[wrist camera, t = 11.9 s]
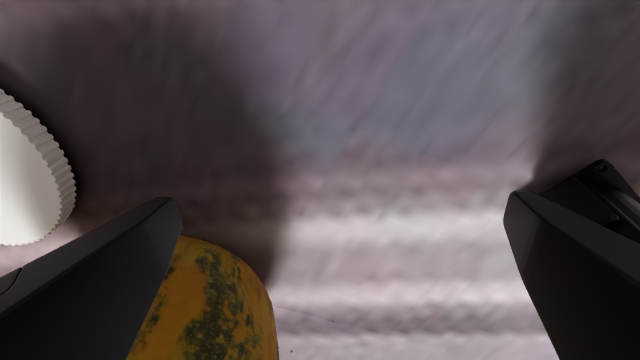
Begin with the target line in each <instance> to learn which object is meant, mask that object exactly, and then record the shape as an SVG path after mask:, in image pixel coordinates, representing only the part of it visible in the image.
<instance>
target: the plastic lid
mask: <svg viewBox="0 0 640 360" xmlns="http://www.w3.org/2000/svg"><path fill="white" fill-rule="evenodd" d="M53 138H54V137H53V136H52V134H49V133H48V132H47V128H46V127H45V126H42V125H41V124H40V121H39V120H38V119H37V118H34V117H33V116H32V113H31V112H30V111H29V110H25V109H24V108H23V105H22V104H21V103H17V102H16V101H14V98H13V97H12V96H11V95H9V96H8V95H6V94H5V92H4V91H3V90H2V89H0V245H1V244H4V245H9V244H11V245H12V246H15V245H16V244H18V245H22V244H29V243H30V242H31V243H34V242H35V241H40V240H41V239H44V238H45V237H46V236H48V235H50V234H51V233H52V232H53V231H54V230H55V229H56V228H58V227H59V226H60V225H61V224H62V223H63V222H64V221H66V220H67V218H68V217H69V216H70V213H71V212H72V211H73V210H72V209H73V208H74V206H75V205H74V203H75V202H76V199H74V198H75V197H76V193H75V192H74V191H75V190H76V187H75V186H74V184H75V180H73V178H72V177H74V174H73V173H71V171H70V170H71V169H72V168H71V166H69V165H68V164H67V162H68V159H67V158H65V157H64V155H63V154H64V152H63V150H60V149H59V147H58V146H59V144H58V142H55V141H54V140H53Z"/></svg>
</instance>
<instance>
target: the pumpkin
mask: <svg viewBox="0 0 640 360" xmlns="http://www.w3.org/2000/svg"><path fill="white" fill-rule="evenodd" d="M126 360H279V351H278V341H277V334H276V327H275V319H274V313H273V308H272V303H271V300H270V298H269V296H268V293H267V291H266V289H265V287H264V286H263V284H262V282H261V281H260V279H259V278H258V276H257V275H256V273H255V272H254V271H253V270H252V269H251V268H250V267H249V266H248V265H247V264H246V263H245V262H244V261H243V260H241V259H240V258H239V257H238V256H236V255H234V254H233V253H231V252H229V251H228V250H226V249H224V248H222V247H220V246H217V245H214V244H212V243H209V242H206V241H203V240H200V239H196V238H191V237H187V236H179V239H178V242H177V245H176V247H175V250H174V253H173V256H172V259H171V262H170V265H169V268H168V270H167V273H166V275H165V278H164V280H163V282H162V284H161V287H160V289H159V291H158V293H157V295H156V297H155V299H154V301H153V304H152V306H151V308H150V310H149V312H148V314H147V316H146V318H145V320H144V323H143V325H142V327H141V329H140V331H139V333H138V335H137V337H136V340H135V342H134V344H133V346H132V348H131V350H130V352H129V354H128V357H127V359H126Z"/></svg>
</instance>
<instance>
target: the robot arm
mask: <svg viewBox="0 0 640 360" xmlns="http://www.w3.org/2000/svg"><path fill="white" fill-rule="evenodd" d="M601 166H603V167H602V168H601V169H599V168H600V167H601ZM598 169H599V170H598ZM503 223H504V228H505V231H506V234H507V237H508V240H509V243H510V246H511V249H512V252H513V255H514V258H515V261H516V264H517V267H518V270H519V273H520V275H521V278H522V280H523V283H524V285H525V287H526V289H527V291H528V293H529V296H530V298H531V300H532V302H533V304H534V306H535V308H536V310H537V313H538V315H539V317H540V319H541V321H542V323H543V325H544V327H545V330H546V332H547V334H548V336H549V338H550V340H551V342H552V344H553V347H554V349H555V351H556V353H557V355H558V357H559V359H560V360H640V198H639V196H638V195H637V194H636V193H635V192H634V191H633V189H632V188H631V187H630V186H629V185H628V183H627V182H626V181H625V180H624V179H623V177H622V176H621V175H620V174H619V173H618V171H617V170H616V169H615V168H614V167H613V166H612V164H610V163H609V162H608V161H606V160H605V159H599V160H596V161H594V162H593V163H591V164H590V165H588V166H586V167H585V168H583V169H582V170H580V171H579V172H577V173H575V174H574V175H572V176H571V177H569V178H567V179H566V180H564V181H563V182H561V183H560V184H558V185H556V186H555V187H553V188H552V189H550V190H549V191H547V192H545V193H544V194H542V195H541V196H539V195H537V194H535V193H533V192H531V191H513V192H512V193H511V194H510V195H509V198H508V202H507V206H506V210H505V213H504V218H503ZM182 224H183V223H182V218H181V216H180V213H179V210H178V207H177V204H176V202H175V200H174V199H173V198H172V197H157V198H155V199H153V200H151V201H149V202H147V203H145V204H143V205H141V206H139V207H137V208H135V209H133V210H131V211H129V212H128V213H126V214H124V215H122V216H120V217H118V218H116V219H114V220H112V221H110V222H108V223H106V224H104V225H102V226H100V227H98V228H96V229H94V230H92V231H90V232H88V233H86V234H85V235H83V236H81V237H79V238H77V239H75V240H73V241H71V242H69V243H67V244H65V245H63V246H61V247H59V248H57V249H55V250H53V251H51V252H49V253H47V254H45V255H43V256H41V257H40V258H38V259H36V260H34V261H32V262H30V263H28V264H26V265H24V266H23V268H22V267H20V268H18V269H16V270H14V271H12V272H10V273H8V274H6V275H4V276H2V277H0V360H126V359H127V357H128V354H129V352H130V350H131V348H132V346H133V344H134V342H135V340H136V337H137V335H138V333H139V331H140V329H141V327H142V325H143V323H144V320H145V318H146V316H147V314H148V312H149V310H150V308H151V306H152V304H153V301H154V299H155V297H156V295H157V293H158V291H159V289H160V287H161V284H162V282H163V280H164V278H165V275H166V273H167V270H168V268H169V265H170V262H171V259H172V256H173V253H174V250H175V247H176V245H177V242H178V239H179V236H180V233H181V230H182Z"/></svg>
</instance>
